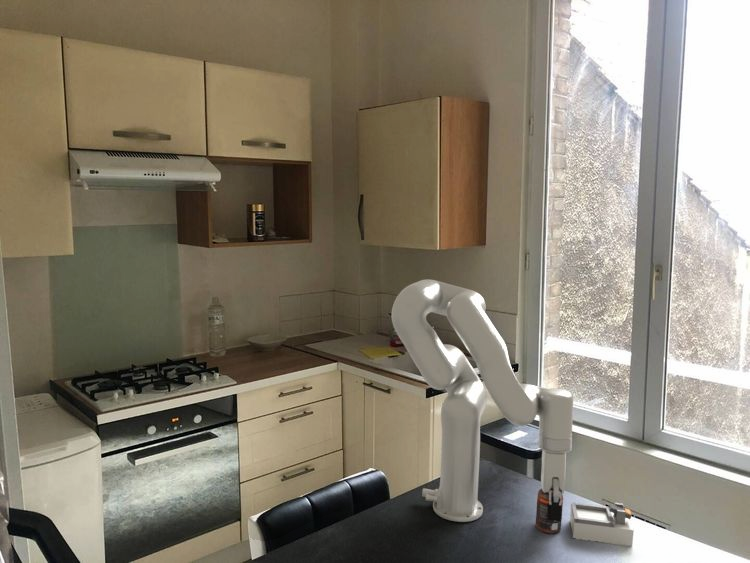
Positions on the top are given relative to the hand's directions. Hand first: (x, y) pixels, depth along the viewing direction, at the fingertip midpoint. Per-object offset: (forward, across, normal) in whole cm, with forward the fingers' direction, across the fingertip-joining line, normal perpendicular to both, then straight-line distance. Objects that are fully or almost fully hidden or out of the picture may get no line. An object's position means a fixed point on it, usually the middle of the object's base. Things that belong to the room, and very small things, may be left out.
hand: (552, 509), depth 147 cm
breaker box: (+5, -1, +11) cm, 12 cm away
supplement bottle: (+5, 0, -1) cm, 5 cm away
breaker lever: (-1, -1, +15) cm, 15 cm away
